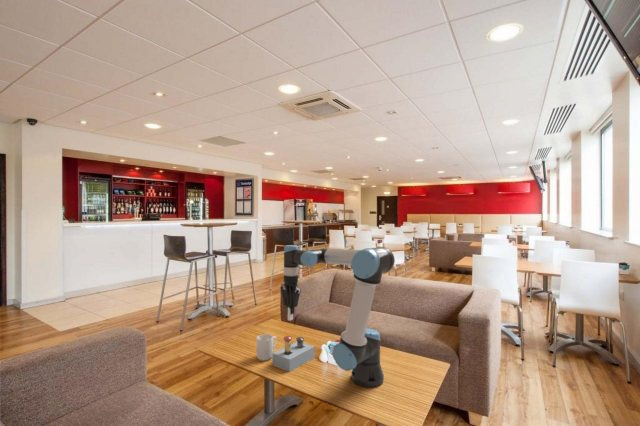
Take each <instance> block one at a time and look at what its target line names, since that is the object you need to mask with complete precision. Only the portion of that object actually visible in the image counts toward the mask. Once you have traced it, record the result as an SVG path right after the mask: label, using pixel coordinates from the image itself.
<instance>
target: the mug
mask: <svg viewBox="0 0 640 426" xmlns="http://www.w3.org/2000/svg"><path fill="white" fill-rule="evenodd" d="M277 338H278V337H277V336H273V335H272V334H269V333H268V334H267V333H265V334H261V335H258V336H256V358H257V359H258V360H259V361H263V362H266V361H269V360H271V359H272V355H273V353H274V350H275V349H276V347H277Z"/></svg>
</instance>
